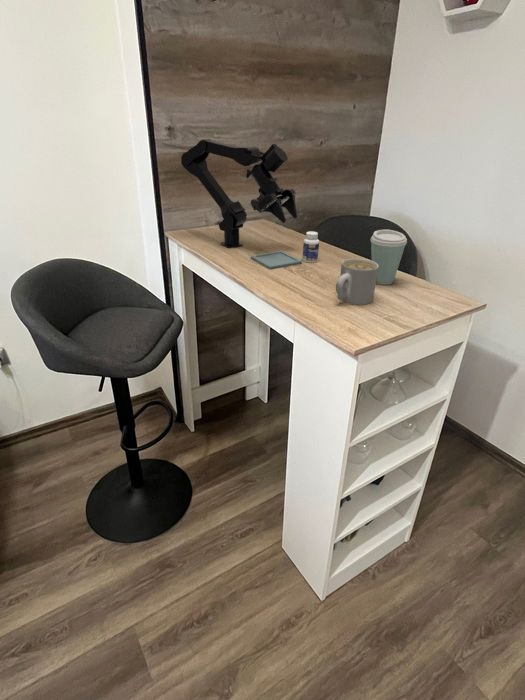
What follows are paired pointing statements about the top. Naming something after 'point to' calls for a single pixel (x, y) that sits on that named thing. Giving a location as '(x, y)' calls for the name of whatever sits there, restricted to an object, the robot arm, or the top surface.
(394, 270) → the disposable coffee cup
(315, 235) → the pill bottle
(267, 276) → the top surface
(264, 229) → the top surface
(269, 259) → the tray
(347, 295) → the coffee mug
